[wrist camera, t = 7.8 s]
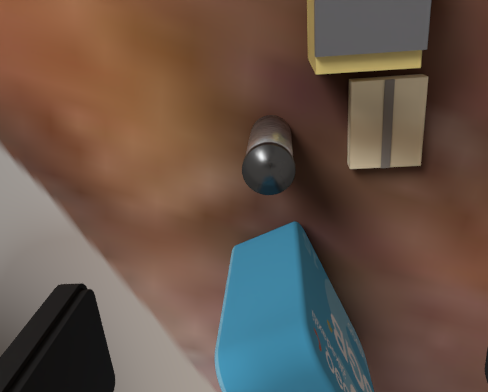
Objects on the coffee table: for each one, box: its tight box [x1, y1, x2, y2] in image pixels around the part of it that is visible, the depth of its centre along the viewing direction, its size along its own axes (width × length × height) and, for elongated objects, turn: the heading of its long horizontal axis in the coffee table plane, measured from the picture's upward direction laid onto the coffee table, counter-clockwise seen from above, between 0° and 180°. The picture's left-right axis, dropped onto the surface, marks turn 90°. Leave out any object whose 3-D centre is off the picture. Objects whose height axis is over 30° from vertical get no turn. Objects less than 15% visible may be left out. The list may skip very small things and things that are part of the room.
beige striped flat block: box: [347, 74, 428, 169], centre depth 25 cm, size 5×4×1 cm
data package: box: [215, 222, 374, 392], centre depth 26 cm, size 12×4×12 cm, turn 27°
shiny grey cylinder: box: [242, 115, 295, 195], centre depth 24 cm, size 2×2×6 cm
